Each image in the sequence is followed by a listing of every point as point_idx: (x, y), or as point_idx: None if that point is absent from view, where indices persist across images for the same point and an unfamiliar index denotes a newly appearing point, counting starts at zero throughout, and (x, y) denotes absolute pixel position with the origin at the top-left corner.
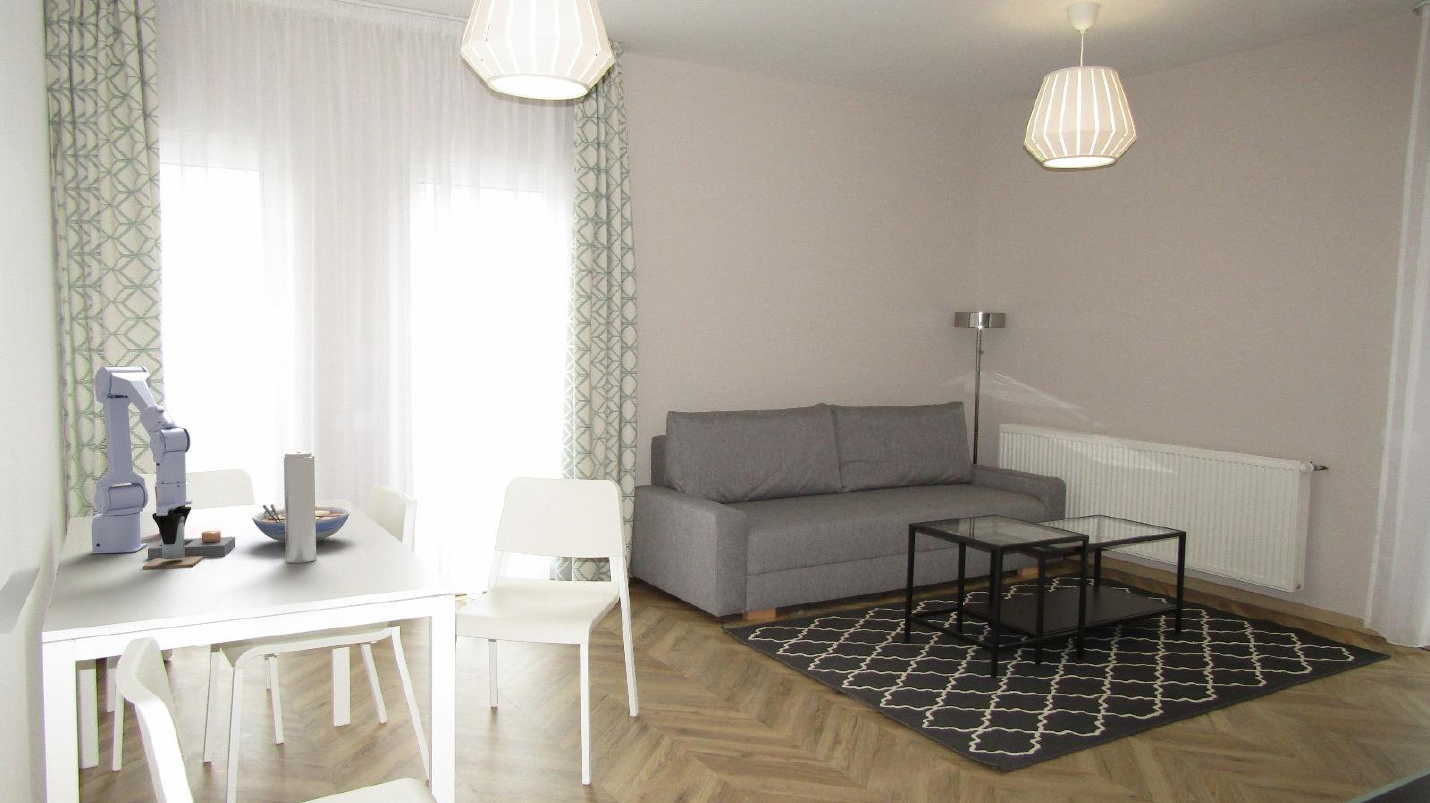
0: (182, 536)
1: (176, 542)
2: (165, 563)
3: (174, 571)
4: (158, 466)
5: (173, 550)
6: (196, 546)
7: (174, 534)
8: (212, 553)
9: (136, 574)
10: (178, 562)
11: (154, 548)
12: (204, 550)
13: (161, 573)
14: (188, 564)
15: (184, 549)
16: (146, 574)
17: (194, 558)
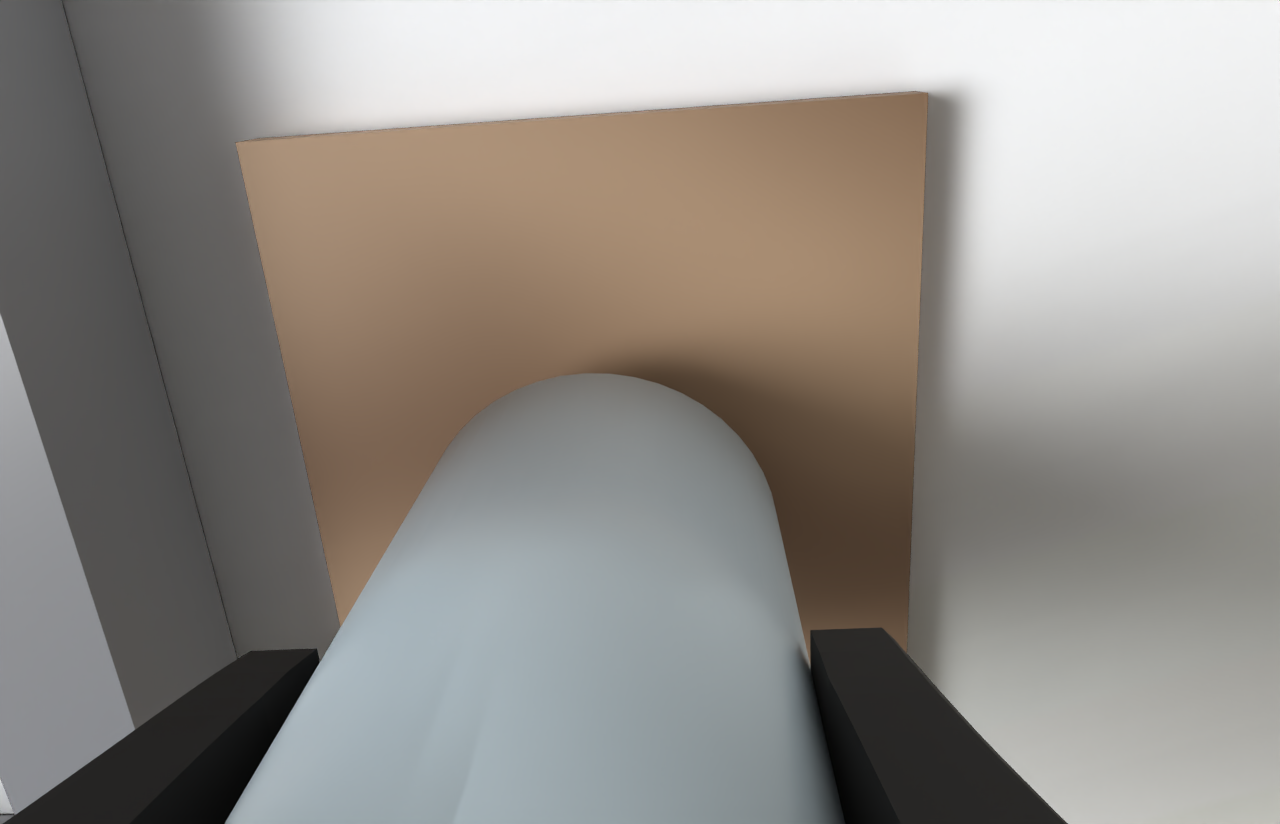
0: (614, 601)
1: (775, 618)
2: None
3: (1193, 292)
4: None
5: (787, 569)
6: (2, 355)
7: (1032, 803)
8: (28, 20)
9: (1209, 737)
10: (718, 401)
11: None
12: (30, 180)
13: (1275, 442)
14: (919, 172)
15: (553, 423)
16: (1262, 621)
17: (425, 237)
